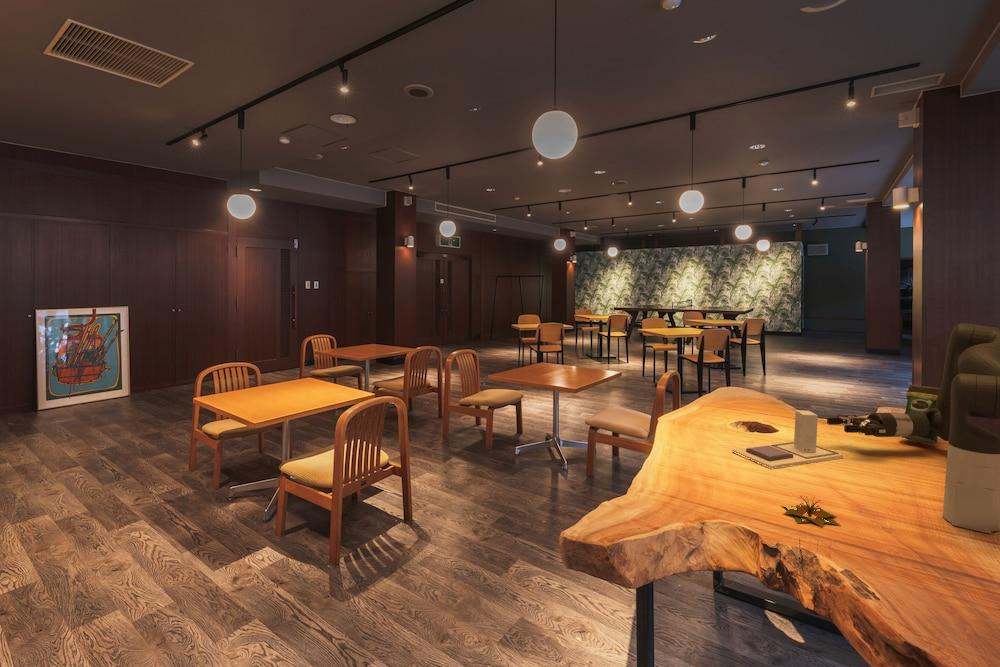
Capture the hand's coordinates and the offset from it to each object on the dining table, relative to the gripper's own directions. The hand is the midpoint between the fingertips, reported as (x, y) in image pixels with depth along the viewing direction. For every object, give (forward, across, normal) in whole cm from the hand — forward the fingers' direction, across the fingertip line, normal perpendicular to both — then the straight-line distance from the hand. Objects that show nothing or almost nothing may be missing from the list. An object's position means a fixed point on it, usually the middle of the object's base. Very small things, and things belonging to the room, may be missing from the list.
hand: (836, 424), depth 153 cm
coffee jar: (-31, -8, +8) cm, 33 cm away
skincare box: (+9, 0, +8) cm, 12 cm away
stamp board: (+16, +2, +9) cm, 19 cm away
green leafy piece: (+32, +43, +10) cm, 55 cm away
